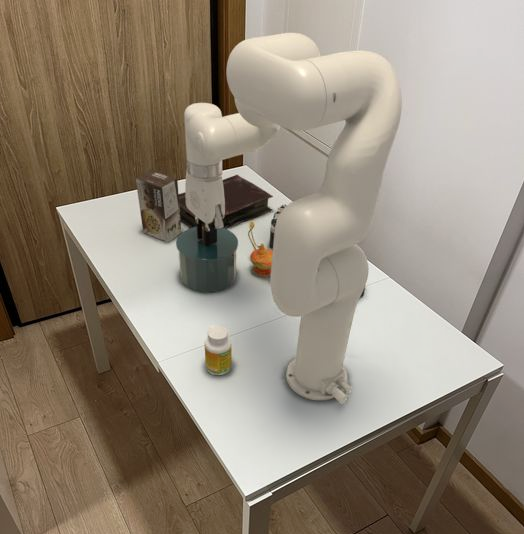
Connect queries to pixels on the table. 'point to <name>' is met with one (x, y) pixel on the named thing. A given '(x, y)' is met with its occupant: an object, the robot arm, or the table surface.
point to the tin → (208, 273)
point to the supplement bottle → (218, 351)
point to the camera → (273, 224)
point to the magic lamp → (260, 257)
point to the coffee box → (159, 205)
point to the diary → (234, 202)
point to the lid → (200, 252)
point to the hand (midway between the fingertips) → (207, 240)
